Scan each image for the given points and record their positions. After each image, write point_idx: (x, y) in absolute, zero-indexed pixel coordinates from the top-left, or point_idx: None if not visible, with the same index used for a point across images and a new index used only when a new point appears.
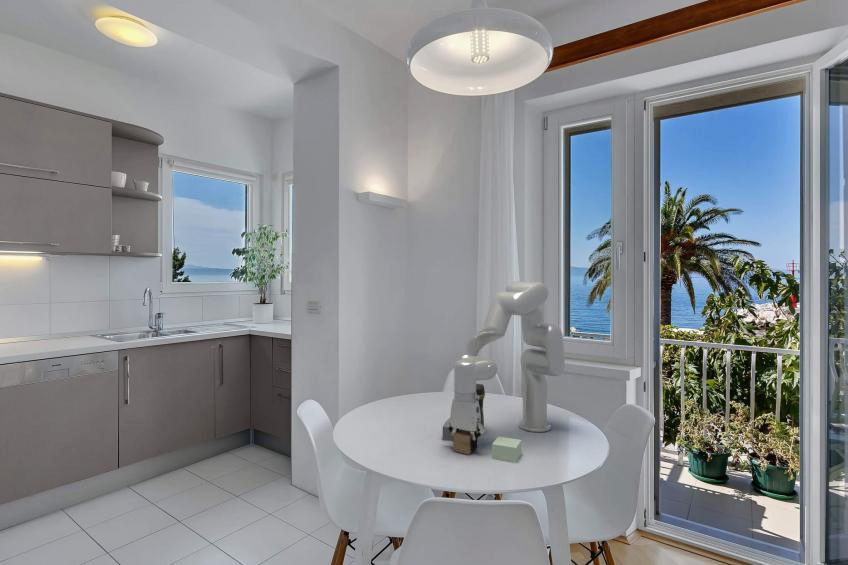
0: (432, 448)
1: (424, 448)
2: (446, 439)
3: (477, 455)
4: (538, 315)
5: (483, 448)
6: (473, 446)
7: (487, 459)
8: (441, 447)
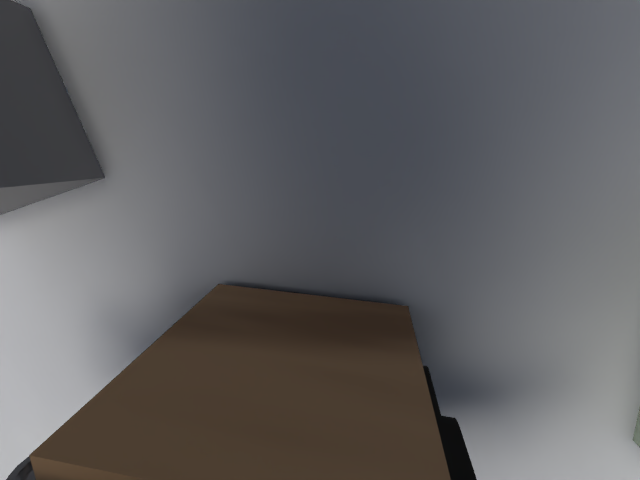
0: None
1: (24, 444)
2: (12, 209)
3: (461, 424)
4: None
5: (468, 226)
6: None
7: (587, 473)
8: (101, 381)
